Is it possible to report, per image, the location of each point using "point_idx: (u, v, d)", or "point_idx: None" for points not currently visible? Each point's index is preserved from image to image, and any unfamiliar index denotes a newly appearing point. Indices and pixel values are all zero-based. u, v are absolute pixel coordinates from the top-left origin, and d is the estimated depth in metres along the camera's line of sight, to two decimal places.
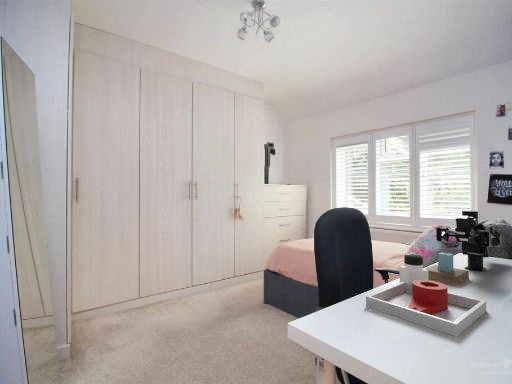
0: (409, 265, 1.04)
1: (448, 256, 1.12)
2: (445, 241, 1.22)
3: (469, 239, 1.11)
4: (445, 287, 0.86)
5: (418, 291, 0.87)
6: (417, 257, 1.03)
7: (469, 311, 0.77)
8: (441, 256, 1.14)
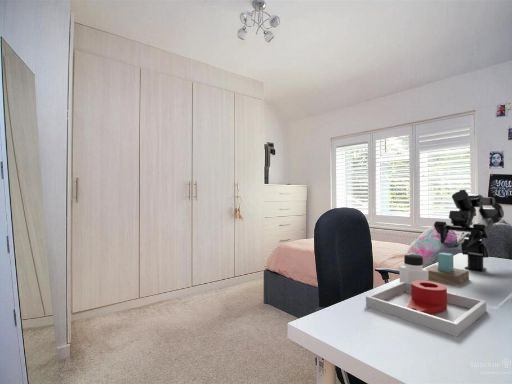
0: (409, 265, 1.04)
1: (448, 256, 1.12)
2: (446, 236, 1.26)
3: (467, 245, 1.14)
4: (444, 288, 0.85)
5: (418, 292, 0.87)
6: (417, 257, 1.03)
7: (469, 311, 0.77)
8: (441, 256, 1.14)
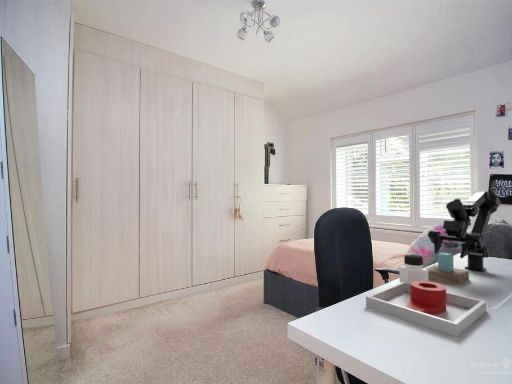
0: (409, 265, 1.04)
1: (448, 256, 1.12)
2: None
3: (461, 256, 1.11)
4: (443, 288, 0.85)
5: (417, 292, 0.86)
6: (417, 257, 1.03)
7: (469, 311, 0.77)
8: (441, 256, 1.14)
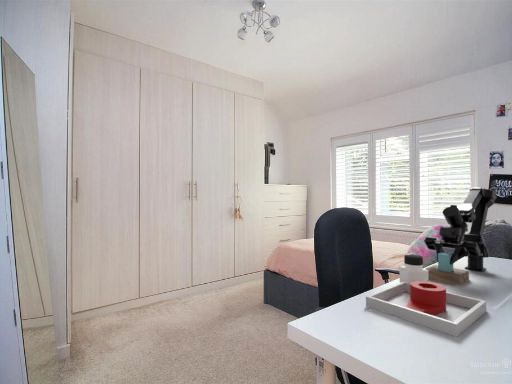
0: (409, 265, 1.04)
1: (448, 256, 1.12)
2: None
3: (451, 263, 1.12)
4: (443, 288, 0.85)
5: (416, 292, 0.86)
6: (417, 257, 1.03)
7: (469, 311, 0.77)
8: (441, 256, 1.14)
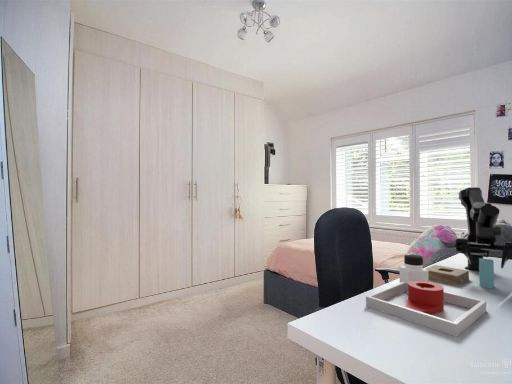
0: (409, 265, 1.04)
1: (492, 263, 1.03)
2: None
3: (502, 266, 1.02)
4: (441, 288, 0.85)
5: (415, 292, 0.86)
6: (417, 257, 1.03)
7: (469, 311, 0.77)
8: (483, 263, 1.05)
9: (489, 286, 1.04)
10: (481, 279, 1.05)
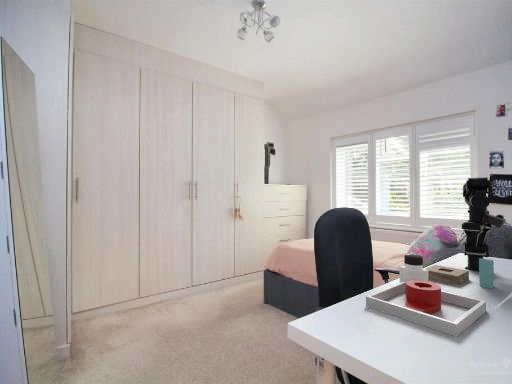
0: (409, 265, 1.04)
1: (492, 263, 1.03)
2: None
3: None
4: (439, 287, 0.86)
5: (413, 292, 0.86)
6: (417, 257, 1.03)
7: (469, 311, 0.77)
8: (483, 263, 1.05)
9: (489, 286, 1.04)
10: (481, 279, 1.05)
